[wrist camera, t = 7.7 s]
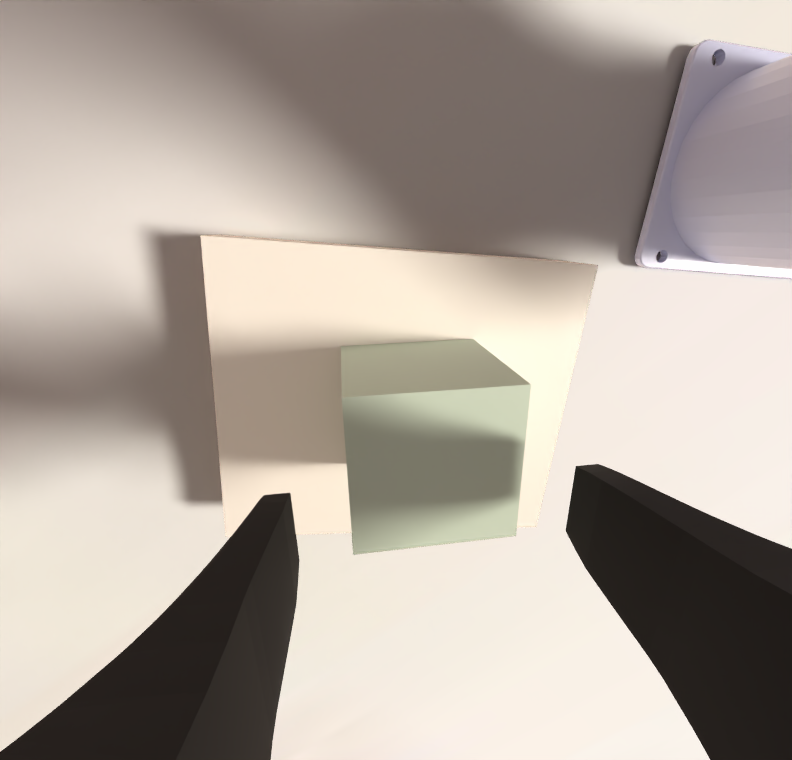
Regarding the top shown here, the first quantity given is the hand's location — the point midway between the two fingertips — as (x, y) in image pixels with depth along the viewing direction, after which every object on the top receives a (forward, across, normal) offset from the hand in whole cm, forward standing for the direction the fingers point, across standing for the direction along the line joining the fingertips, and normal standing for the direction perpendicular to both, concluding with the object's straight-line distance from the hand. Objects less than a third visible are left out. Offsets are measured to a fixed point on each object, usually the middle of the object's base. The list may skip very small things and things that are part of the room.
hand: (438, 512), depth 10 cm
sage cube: (+6, 0, 0) cm, 6 cm away
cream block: (+9, 0, 0) cm, 9 cm away
